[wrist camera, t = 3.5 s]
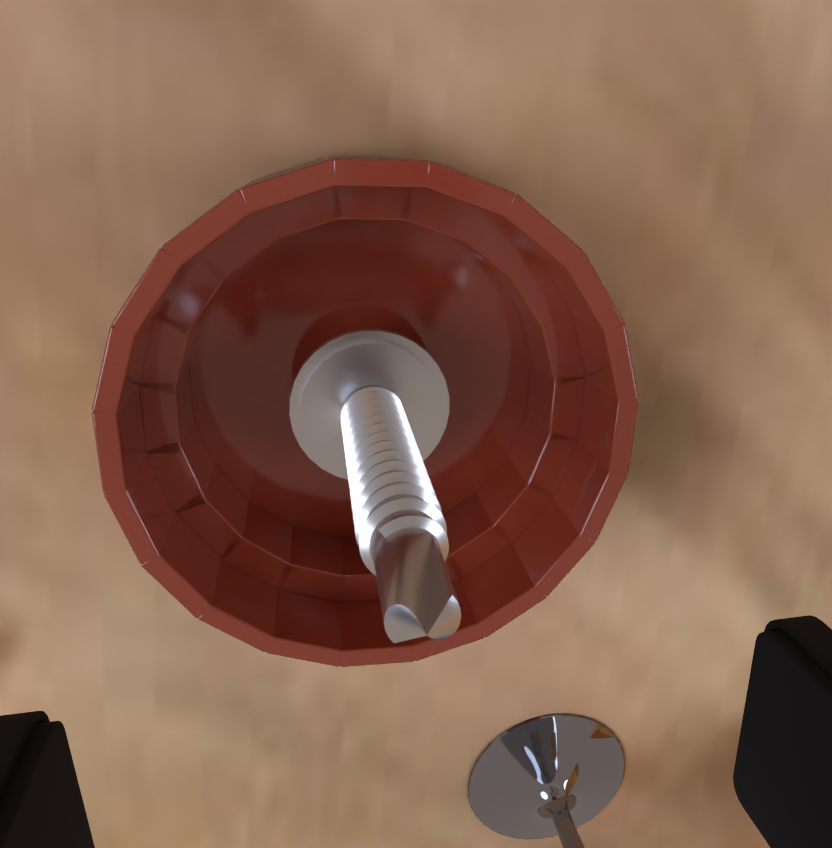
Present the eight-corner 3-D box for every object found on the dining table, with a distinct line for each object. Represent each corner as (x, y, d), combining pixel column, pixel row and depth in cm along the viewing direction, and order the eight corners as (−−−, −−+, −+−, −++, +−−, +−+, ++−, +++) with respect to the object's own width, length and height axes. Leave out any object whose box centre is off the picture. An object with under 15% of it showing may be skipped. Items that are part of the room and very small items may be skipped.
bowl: (61, 241, 21) (-17, 269, 16) (516, 95, 22) (580, 78, 16) (240, 616, 27) (225, 726, 21) (602, 495, 27) (671, 575, 22)
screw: (467, 389, 24) (361, 482, 25) (369, 283, 22) (259, 386, 23) (627, 627, 12) (413, 796, 13) (443, 437, 10) (206, 644, 11)
